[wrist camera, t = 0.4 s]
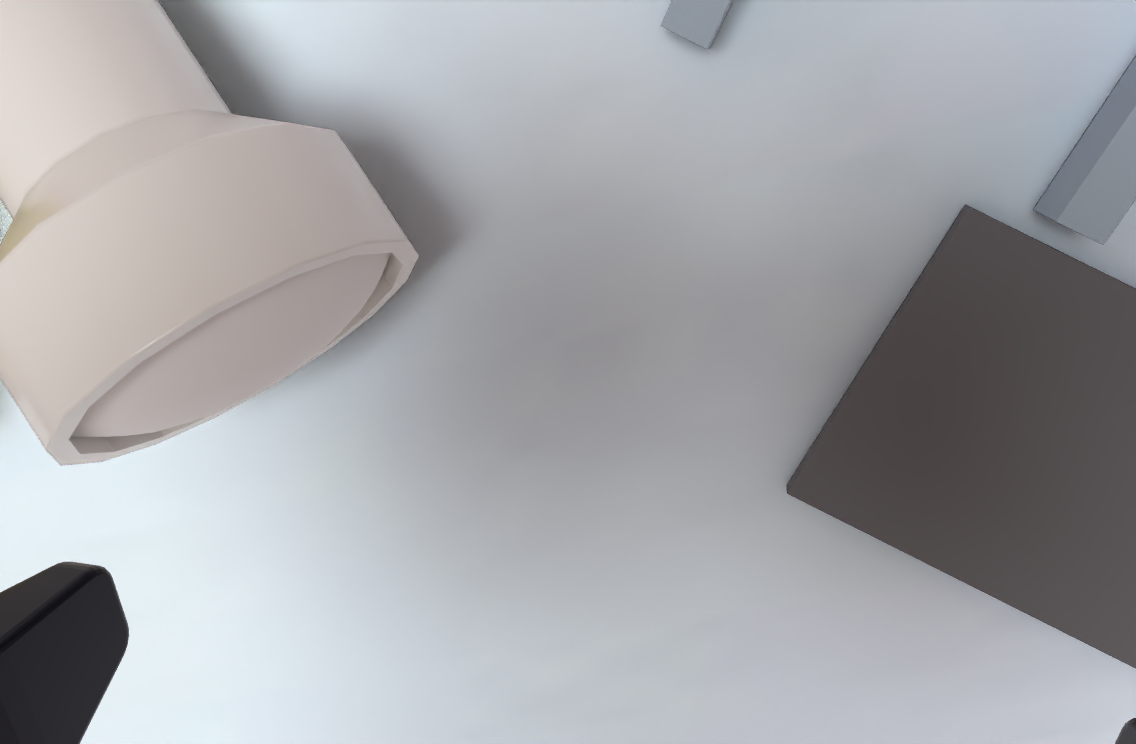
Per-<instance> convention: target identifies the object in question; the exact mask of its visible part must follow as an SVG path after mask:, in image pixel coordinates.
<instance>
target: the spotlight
mask: <svg viewBox="0 0 1136 744" xmlns="http://www.w3.org/2000/svg"><path fill="white" fill-rule="evenodd" d="M0 200H1V201H2V203H3V205H4V206H5V208H6V209H7V211H8V212H9V214H10V215H11V217H12V219H13V221H12V223H11V225H10V227H9V229H8V231H7V233H6V235H5V237H4V239H3V241H2V243H1V245H0V379H1V381H2V382H3V384H4V385H5V387H6V388H7V390H8V392H9V393H10V395H11V396H12V398H13V399H14V401H15V403H16V404H17V406H18V407H19V409H20V410H21V412H22V414H23V415H24V417H25V418H26V420H27V421H28V423H29V425H30V426H31V428H32V429H33V431H34V432H35V434H36V436H37V437H38V439H39V440H40V442H41V443H42V445H43V447H44V448H45V450H46V451H47V452H48V453H49V454H50V455H51V456H52V457H53V458H54V459H55V460H56V461H57V462H58V463H59V464H60V465H72V464H84V463H96V462H103V461H106V460H109V459H112V458H115V457H118V456H121V455H124V454H127V453H131V452H134V451H137V450H140V449H143V448H146V447H149V446H152V445H155V444H158V443H160V442H162V441H164V440H167V439H169V438H171V437H173V436H175V435H178V434H180V433H182V432H184V431H187V430H189V429H191V428H193V427H196V426H198V425H200V424H202V423H204V422H207V421H209V420H211V419H213V418H216V417H217V416H219V415H221V414H223V413H225V412H227V411H228V410H230V409H232V408H234V407H236V406H237V405H239V404H241V403H243V402H245V401H247V400H248V399H250V398H252V397H254V396H256V395H257V394H259V393H261V392H263V391H265V390H267V389H268V388H270V387H272V386H274V385H276V384H277V383H279V382H280V381H282V380H283V379H285V378H286V377H288V376H289V375H291V374H293V373H294V372H296V371H297V370H299V369H300V368H302V367H303V366H305V365H306V364H308V363H309V362H311V361H312V360H314V359H316V358H317V357H319V356H320V355H322V354H323V353H325V352H326V351H328V350H329V349H331V348H332V347H333V346H335V345H336V344H337V343H338V342H340V341H341V340H342V339H343V338H345V337H346V336H347V335H349V334H350V333H351V332H352V331H354V330H355V329H356V328H358V327H359V326H360V325H361V324H363V323H364V322H365V321H366V320H368V319H369V318H370V317H372V316H373V315H374V314H375V313H376V312H377V311H378V310H379V309H380V308H381V307H382V306H383V305H384V304H385V303H386V302H387V301H388V300H389V299H390V298H391V297H392V296H393V295H394V294H395V293H396V292H397V291H398V290H399V289H400V288H401V287H402V286H403V284H404V283H405V282H406V281H407V279H408V277H409V275H410V273H411V271H412V269H413V267H414V265H415V263H416V261H417V259H418V257H419V255H418V253H417V252H416V250H415V249H414V247H413V246H412V244H411V243H410V241H409V240H408V238H407V237H406V235H405V234H404V232H403V231H402V229H401V228H400V226H399V225H398V223H397V222H396V220H395V219H394V217H393V216H392V214H391V212H390V211H389V209H388V208H387V206H386V205H385V203H384V202H383V200H382V199H381V197H380V196H379V194H378V193H377V191H376V190H375V188H374V187H373V185H372V184H371V182H370V181H369V179H368V178H367V176H366V175H365V173H364V172H363V170H362V169H361V167H360V166H359V164H358V163H357V161H356V160H355V158H354V156H353V155H352V153H351V152H350V151H349V149H348V148H347V147H346V145H345V144H344V143H343V141H342V140H341V138H340V137H339V136H338V134H337V133H336V132H335V130H331V129H325V128H319V127H313V126H307V125H301V124H295V123H289V122H282V121H276V120H269V119H262V118H255V117H248V116H242V115H235V114H232V113H231V112H230V110H229V109H228V107H227V105H226V104H225V102H224V101H223V99H222V98H221V96H220V95H219V93H218V92H217V90H216V89H215V87H214V86H213V84H212V83H211V81H210V80H209V78H208V77H207V75H206V73H205V72H204V70H203V69H202V67H201V66H200V64H199V63H198V61H197V60H196V58H195V57H194V55H193V54H192V52H191V51H190V49H189V48H188V46H187V45H186V43H185V41H184V40H183V38H182V37H181V35H180V34H179V32H178V31H177V29H176V28H175V26H174V25H173V23H172V22H171V20H170V19H169V17H168V16H167V14H166V12H165V11H164V9H163V8H162V6H161V5H160V3H159V2H158V0H0Z"/></svg>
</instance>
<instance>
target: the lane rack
mask: <svg viewBox="0 0 1136 744" xmlns="http://www.w3.org/2000/svg"><path fill="white" fill-rule="evenodd" d="M732 2H733V0H672V2H671V4H670V6H669V8H668V10H667V13H666V15H665V17H664V19H663V21H662V23H661V27H663V28H665V29H667V30H669V31H671V32H673V33H675V34H677V35H679V36H681V37H683V38H685V39H687V40H689V41H691V42H693V43H695V44H697V45H699V46H701V47H703V48H706V49H710V47H711V45H712V43H713V41H714V39H715V37H716V34H717V32H718V30H719V28H720V26H721V24H722V22H723V20H724V18H725V16H726V14H727V12H728V10H729V8H730V6H731V4H732ZM1135 200H1136V56H1135V58H1134V59H1133V61H1132V62H1131V64H1130V65H1129V67H1128V68H1127V70H1126V71H1125V73H1124V74H1123V76H1122V77H1121V79H1120V80H1119V82H1118V83H1117V85H1116V86H1115V88H1114V89H1113V91H1112V92H1111V94H1110V95H1109V97H1108V98H1107V100H1106V101H1105V103H1104V104H1103V106H1102V107H1101V109H1100V110H1099V112H1098V113H1097V115H1096V116H1095V118H1094V119H1093V121H1092V122H1091V124H1090V125H1089V127H1088V128H1087V130H1086V131H1085V133H1084V134H1083V136H1082V137H1081V139H1080V140H1079V142H1078V143H1077V145H1076V146H1075V148H1074V149H1073V151H1072V152H1071V154H1070V155H1069V157H1068V158H1067V160H1066V161H1065V163H1064V164H1063V166H1062V167H1061V169H1060V170H1059V172H1058V173H1057V175H1056V176H1055V178H1054V179H1053V181H1052V182H1051V184H1050V185H1049V187H1048V188H1047V190H1046V191H1045V193H1044V194H1043V196H1042V197H1041V199H1040V200H1039V202H1038V203H1037V205H1036V206H1035V208H1034V209H1033V210H1035V211H1037V212H1039V213H1041V214H1042V215H1044V216H1046V217H1048V218H1050V219H1052V220H1054V221H1056V222H1058V223H1060V224H1062V225H1064V226H1066V227H1068V228H1070V229H1072V230H1074V231H1076V232H1078V233H1080V234H1082V235H1084V236H1086V237H1088V238H1090V239H1092V240H1094V241H1096V242H1098V243H1100V244H1102V245H1104V243H1105V242H1106V241H1107V239H1108V238H1109V236H1110V235H1111V234H1112V232H1113V231H1114V229H1115V228H1116V226H1117V225H1118V224H1119V222H1120V221H1121V219H1122V218H1123V217H1124V215H1125V214H1126V212H1127V211H1128V210H1129V208H1130V207H1131V205H1132V204H1133V203H1134V201H1135Z"/></svg>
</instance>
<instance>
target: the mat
mask: <svg viewBox="0 0 1136 744" xmlns="http://www.w3.org/2000/svg"><path fill="white" fill-rule="evenodd" d="M787 494H789V495H791V496H793V497H795V498H797V499H799V500H801V501H803V502H805V503H807V504H809V505H811V506H813V507H815V508H817V509H819V510H821V511H823V512H825V513H827V514H829V515H831V516H833V517H835V518H837V519H839V520H841V521H843V522H845V523H847V524H849V525H851V526H853V527H855V528H857V529H859V530H861V531H863V532H865V533H867V534H869V535H871V536H873V537H875V538H877V539H879V540H881V541H883V542H885V543H887V544H889V545H891V546H893V547H895V548H897V549H899V550H901V551H903V552H905V553H907V554H909V555H911V556H913V557H915V558H917V559H919V560H921V561H923V562H925V563H927V564H929V565H931V566H933V567H935V568H937V569H939V570H941V571H943V572H945V573H947V574H949V575H951V576H953V577H955V578H957V579H959V580H961V581H963V582H965V583H966V584H968V585H970V586H972V587H974V588H976V589H978V590H980V591H982V592H984V593H986V594H988V595H990V596H992V597H994V598H996V599H998V600H1000V601H1002V602H1004V603H1006V604H1008V605H1010V606H1012V607H1014V608H1016V609H1018V610H1020V611H1022V612H1024V613H1026V614H1028V615H1030V616H1032V617H1034V618H1036V619H1038V620H1040V621H1042V622H1044V623H1046V624H1048V625H1050V626H1052V627H1054V628H1056V629H1058V630H1060V631H1062V632H1064V633H1066V634H1068V635H1070V636H1072V637H1074V638H1076V639H1078V640H1080V641H1082V642H1084V643H1086V644H1088V645H1090V646H1092V647H1094V648H1096V649H1098V650H1100V651H1102V652H1104V653H1106V654H1108V655H1110V656H1112V657H1114V658H1116V659H1118V660H1120V661H1122V662H1124V663H1126V664H1128V665H1130V666H1132V667H1134V668H1136V289H1135V288H1133V287H1131V286H1129V285H1127V284H1125V283H1123V282H1121V281H1119V280H1117V279H1115V278H1113V277H1111V276H1109V275H1107V274H1105V273H1103V272H1101V271H1099V270H1097V269H1095V268H1092V267H1090V266H1088V265H1086V264H1084V263H1082V262H1080V261H1078V260H1076V259H1074V258H1072V257H1070V256H1068V255H1066V254H1064V253H1062V252H1060V251H1058V250H1056V249H1054V248H1052V247H1050V246H1048V245H1046V244H1044V243H1042V242H1040V241H1038V240H1036V239H1034V238H1032V237H1030V236H1028V235H1026V234H1024V233H1022V232H1020V231H1018V230H1016V229H1014V228H1012V227H1010V226H1008V225H1006V224H1004V223H1002V222H1000V221H997V220H995V219H993V218H991V217H989V216H987V215H985V214H983V213H981V212H979V211H977V210H975V209H973V208H971V207H969V206H967V205H965V206H964V208H963V209H962V211H961V212H960V214H959V215H958V217H957V219H956V220H955V222H954V223H953V225H952V226H951V228H950V230H949V231H948V233H947V234H946V236H945V237H944V239H943V241H942V242H941V244H940V245H939V247H938V248H937V250H936V252H935V253H934V255H933V256H932V258H931V259H930V261H929V263H928V264H927V266H926V267H925V269H924V270H923V272H922V274H921V275H920V277H919V278H918V280H917V281H916V283H915V285H914V286H913V288H912V289H911V291H910V292H909V294H908V296H907V297H906V299H905V300H904V302H903V303H902V305H901V307H900V308H899V310H898V311H897V313H896V314H895V316H894V318H893V319H892V321H891V322H890V324H889V326H888V327H887V329H886V330H885V332H884V333H883V335H882V337H881V338H880V340H879V341H878V343H877V344H876V346H875V348H874V349H873V351H872V352H871V354H870V355H869V357H868V359H867V360H866V362H865V363H864V365H863V366H862V368H861V370H860V371H859V373H858V374H857V376H856V377H855V379H854V381H853V382H852V384H851V385H850V387H849V388H848V390H847V392H846V393H845V395H844V396H843V398H842V399H841V401H840V403H839V404H838V406H837V407H836V409H835V410H834V412H833V414H832V415H831V417H830V418H829V420H828V421H827V423H826V425H825V426H824V428H823V429H822V431H821V432H820V434H819V436H818V437H817V439H816V440H815V442H814V444H813V445H812V447H811V448H810V450H809V451H808V453H807V455H806V456H805V458H804V459H803V461H802V462H801V464H800V466H799V467H798V469H797V470H796V472H795V473H794V475H793V477H792V478H791V480H790V481H789V483H788V484H787Z"/></svg>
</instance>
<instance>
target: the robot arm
mask: <svg viewBox="0 0 1136 744" xmlns="http://www.w3.org/2000/svg"><path fill="white" fill-rule="evenodd" d="M128 638H129V628H128V623H127V620H126V617H125V614H124V611H123V608H122V605H121V602H120V599H119V596H118V593H117V590H116V587H115V584H114V581H113V578H112V576H111V574H110V573H109V572H108V571H107V570H106V569H105V568H104V567H101V566H97V565H90V564H83V563H77V562H62V563H58V564H56V565H54V566H52V567H50V568H48V569H46V570H44V571H42V572H40V573H38V574H36V575H34V576H32V577H30V578H28V579H26V580H24V581H22V582H20V583H18V584H16V585H14V586H12V587H10V588H8V589H6V590H4V591H3V592H1V593H0V744H80V742H81V740H82V738H83V736H84V734H85V732H86V730H87V728H88V726H89V724H90V722H91V720H92V718H93V716H94V714H95V712H96V710H97V708H98V706H99V704H100V702H101V700H102V698H103V696H104V694H105V692H106V690H107V688H108V686H109V684H110V682H111V680H112V678H113V676H114V674H115V672H116V670H117V668H118V666H119V664H120V662H121V660H122V658H123V656H124V653H125V651H126V648H127V644H128ZM1115 744H1136V718H1133V719H1131V720H1130V721H1128V722H1127V723H1125V725H1124V727H1123V728H1122V730H1121V732H1120V734H1119V736H1118V738H1117V740H1116V742H1115Z"/></svg>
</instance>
